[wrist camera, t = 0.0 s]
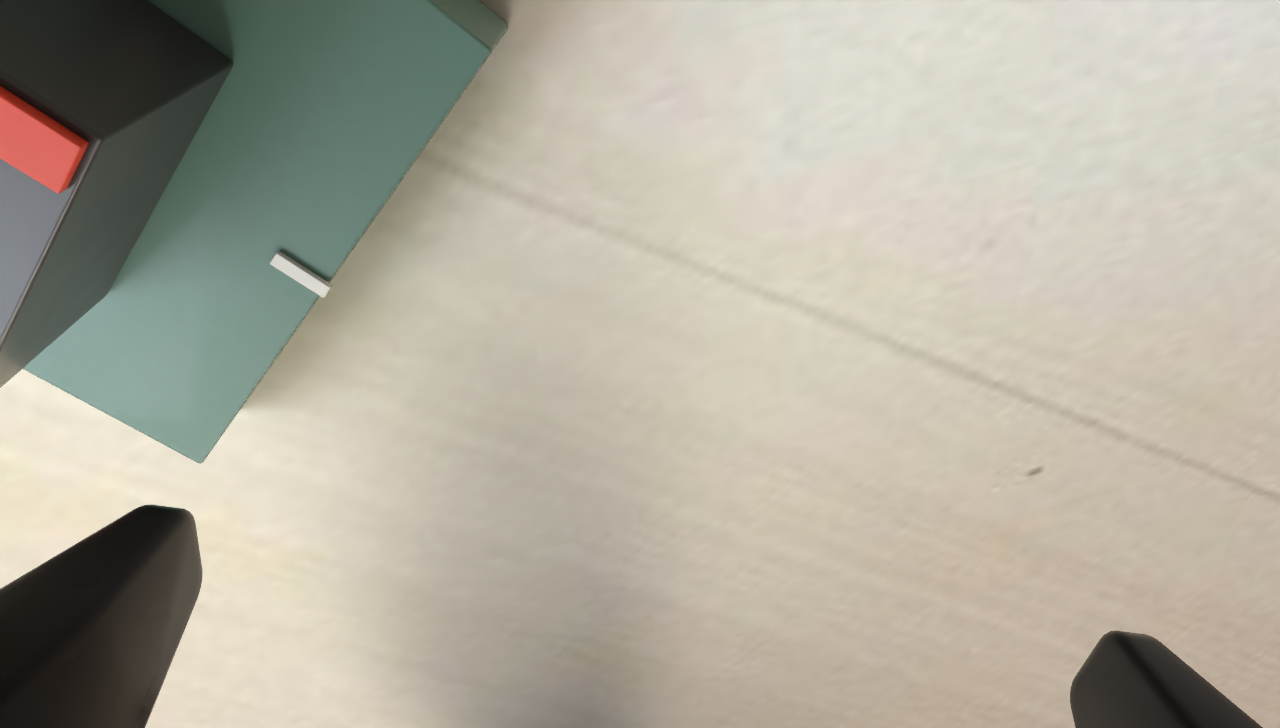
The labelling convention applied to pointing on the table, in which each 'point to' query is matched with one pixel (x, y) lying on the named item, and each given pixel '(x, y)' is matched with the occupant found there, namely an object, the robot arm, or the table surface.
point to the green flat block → (265, 200)
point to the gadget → (86, 150)
